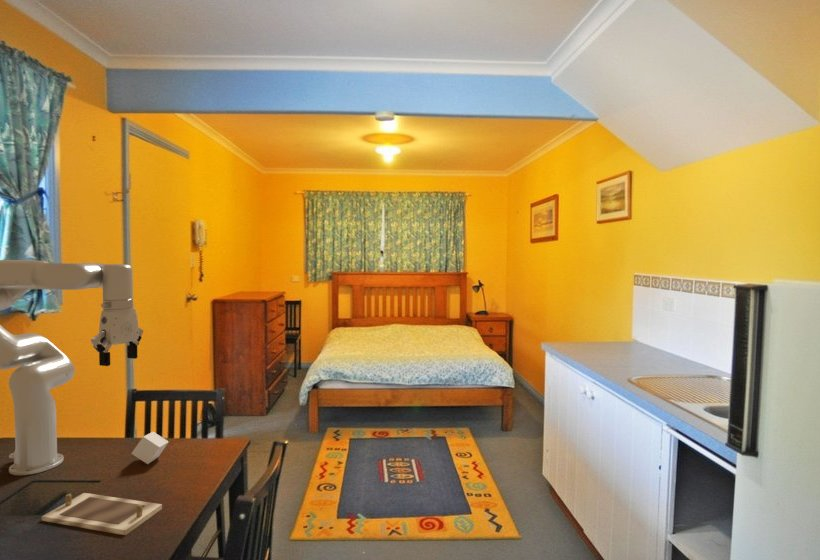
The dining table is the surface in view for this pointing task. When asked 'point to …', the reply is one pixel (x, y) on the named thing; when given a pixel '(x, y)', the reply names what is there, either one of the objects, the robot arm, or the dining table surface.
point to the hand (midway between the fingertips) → (119, 361)
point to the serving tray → (102, 513)
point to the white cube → (150, 447)
